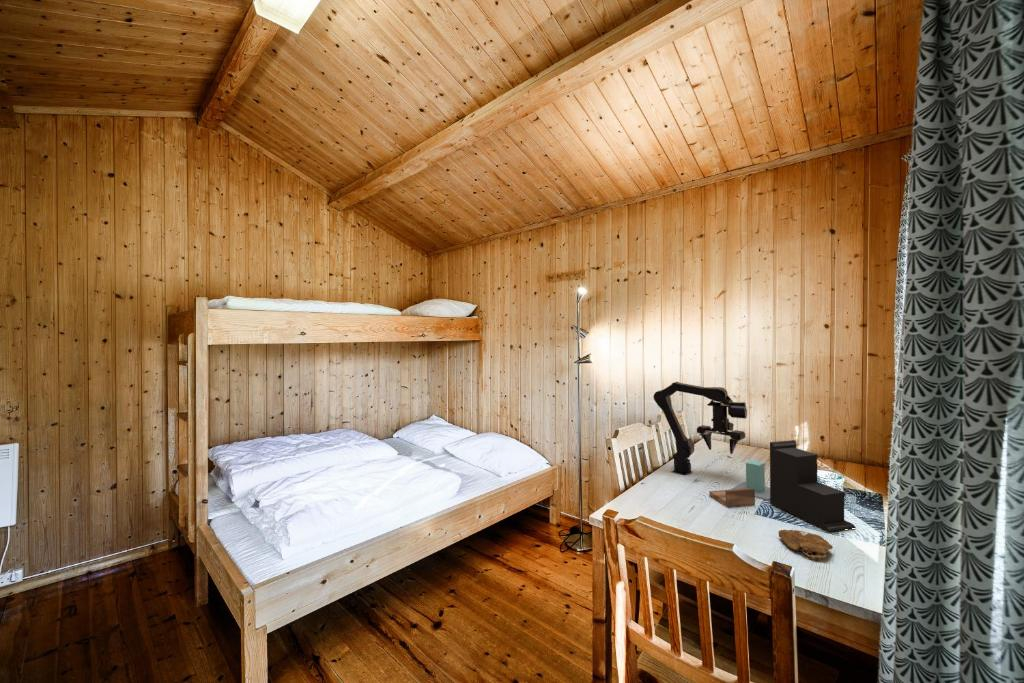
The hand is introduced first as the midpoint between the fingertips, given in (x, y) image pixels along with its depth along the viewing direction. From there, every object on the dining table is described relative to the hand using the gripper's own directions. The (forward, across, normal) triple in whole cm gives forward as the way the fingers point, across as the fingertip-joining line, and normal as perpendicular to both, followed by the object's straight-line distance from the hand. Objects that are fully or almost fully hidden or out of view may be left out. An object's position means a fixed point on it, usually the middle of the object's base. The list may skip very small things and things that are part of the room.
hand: (720, 451), depth 181 cm
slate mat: (+12, -16, +4) cm, 20 cm away
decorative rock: (+13, -44, +41) cm, 61 cm away
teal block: (+12, -16, +4) cm, 20 cm away
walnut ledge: (+12, -14, +21) cm, 28 cm away
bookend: (+12, -37, +15) cm, 42 cm away
